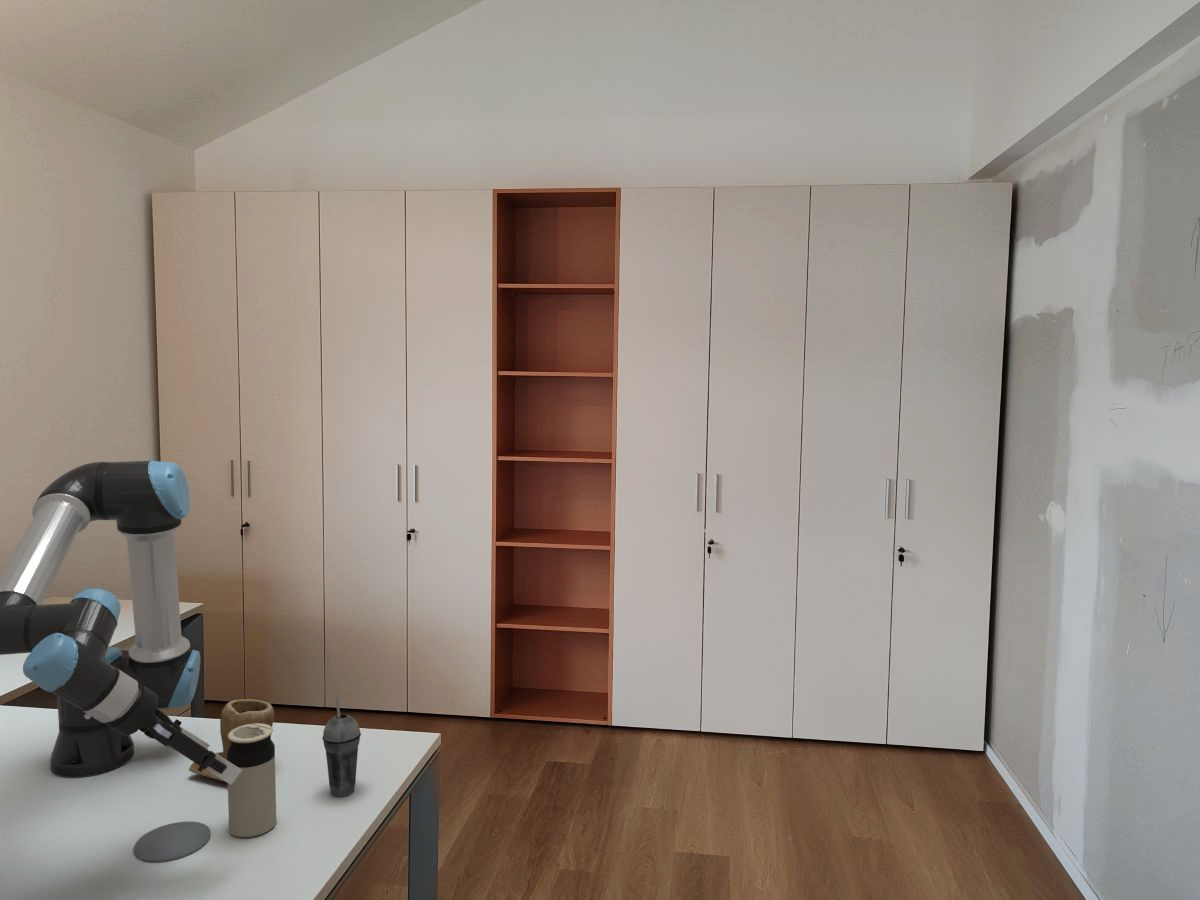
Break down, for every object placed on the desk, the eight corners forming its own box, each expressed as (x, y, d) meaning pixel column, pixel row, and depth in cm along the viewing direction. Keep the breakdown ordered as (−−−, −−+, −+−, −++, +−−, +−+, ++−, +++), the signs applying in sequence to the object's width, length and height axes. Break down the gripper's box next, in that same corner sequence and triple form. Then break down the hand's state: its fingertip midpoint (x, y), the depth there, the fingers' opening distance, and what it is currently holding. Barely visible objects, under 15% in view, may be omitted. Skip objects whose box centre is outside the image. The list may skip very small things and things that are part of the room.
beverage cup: (369, 787, 167) (368, 690, 165) (344, 804, 160) (342, 703, 159) (341, 779, 170) (339, 684, 168) (315, 795, 163) (313, 697, 162)
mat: (123, 842, 146) (123, 840, 146) (194, 816, 155) (194, 814, 155) (148, 871, 138) (148, 868, 138) (222, 842, 147) (221, 839, 147)
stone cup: (288, 768, 175) (286, 698, 173) (244, 794, 164) (242, 720, 162) (233, 754, 180) (231, 687, 179) (187, 779, 169) (185, 707, 168)
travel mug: (247, 843, 147) (244, 745, 145) (219, 830, 151) (216, 734, 149) (285, 823, 153) (283, 729, 152) (258, 811, 158) (256, 719, 156)
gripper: (80, 702, 140) (176, 759, 153) (130, 748, 123) (234, 809, 135) (114, 664, 144) (205, 723, 156) (167, 704, 127) (266, 767, 139)
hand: (219, 763), depth 146 cm, fingers open, 13 cm apart
